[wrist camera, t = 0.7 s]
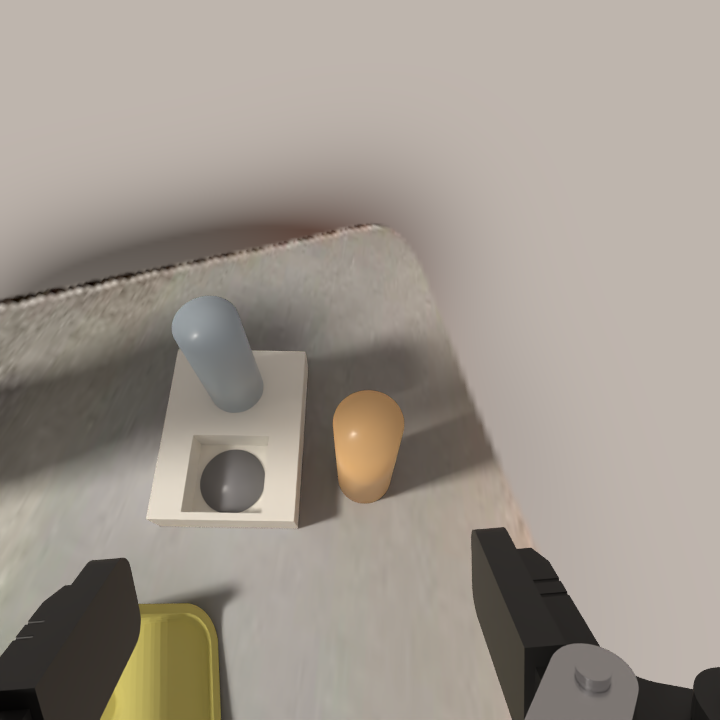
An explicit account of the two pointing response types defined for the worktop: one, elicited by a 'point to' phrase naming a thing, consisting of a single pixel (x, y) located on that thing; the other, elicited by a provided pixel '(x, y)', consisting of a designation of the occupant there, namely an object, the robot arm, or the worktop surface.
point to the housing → (229, 427)
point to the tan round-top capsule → (366, 444)
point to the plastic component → (170, 668)
